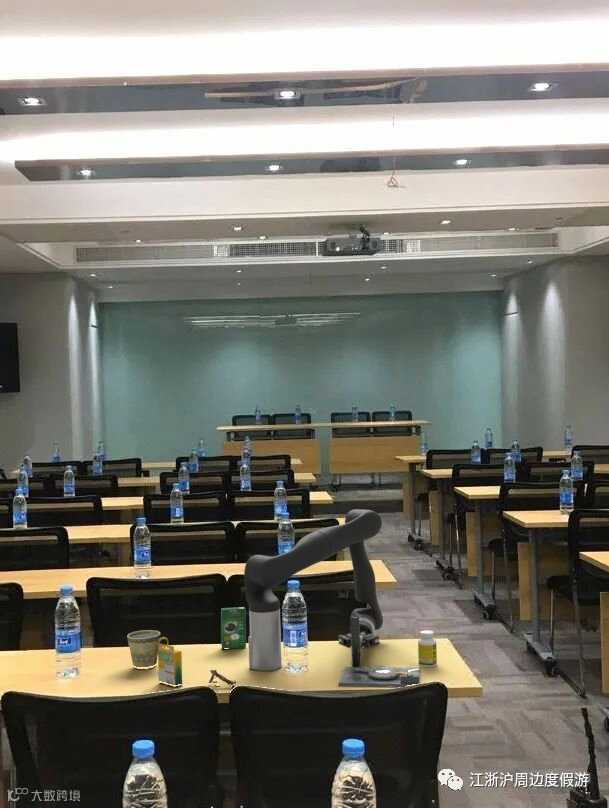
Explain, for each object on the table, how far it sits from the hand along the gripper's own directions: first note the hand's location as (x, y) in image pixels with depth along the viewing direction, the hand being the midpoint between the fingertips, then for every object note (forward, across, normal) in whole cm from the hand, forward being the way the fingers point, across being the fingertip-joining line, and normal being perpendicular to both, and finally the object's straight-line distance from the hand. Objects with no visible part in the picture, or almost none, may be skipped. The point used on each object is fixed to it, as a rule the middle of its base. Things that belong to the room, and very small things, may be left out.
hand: (355, 647), depth 248 cm
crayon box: (+14, -52, +7) cm, 54 cm away
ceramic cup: (-2, -64, +7) cm, 64 cm away
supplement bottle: (-8, +20, +7) cm, 23 cm away
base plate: (+5, +7, +7) cm, 11 cm away
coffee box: (-24, -43, +7) cm, 50 cm away
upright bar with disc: (+5, +7, +6) cm, 10 cm away
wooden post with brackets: (+15, -36, +7) cm, 40 cm away
